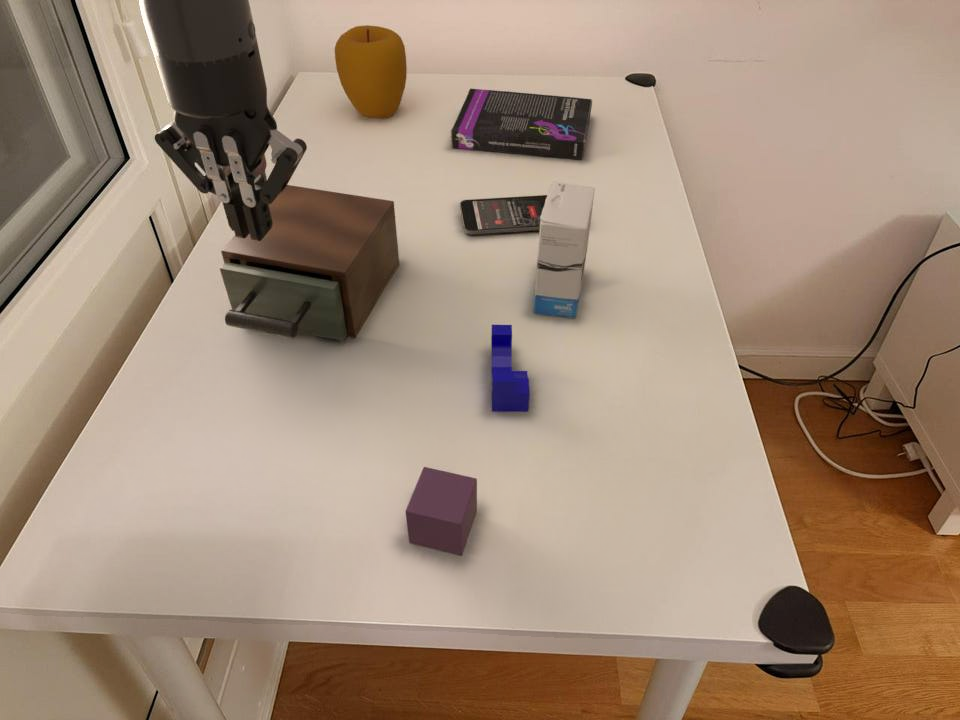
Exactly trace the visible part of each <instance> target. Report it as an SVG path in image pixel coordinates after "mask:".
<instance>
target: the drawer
mask: <svg viewBox="0 0 960 720" xmlns="http://www.w3.org/2000/svg"><path fill="white" fill-rule="evenodd" d="M240 264H241V265H240ZM240 264H234V263H228V262H225V263H224V262H223V264H222V265H221V266H220V268H219V270H220V274H221V279H222V280H223V284H224V288H225V291H226V294H227V297H228V301H229V304H230V307H231V309H229V310H228V311H227V312H226V313H225V317H224V322H225V324H226V326H228V327H232V328H238V329H243V330H249V331H253V332H258V333H263V334H267V335H273V336H279V337H283V338H288V339H295V338H296V336H297V335H298V333H301V334H304V335H305V334H306V335H310V336H315V337H321V338H326V339H332V340H336V341H341V342H344V340H345V338H346V337H347V336H346V335H347V330H346V324H345V322H346V316H345V310H344V303H343V297H342V291H341V285H340V279H339V277H333V276H328V275H322V274H316V273H311V272H305V271H300V270H294V269H288V268H283V267H277V266H271V265H266V264H260V263H254V262H249V261H243V260H240Z"/></svg>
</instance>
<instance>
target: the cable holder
mask: <svg viewBox="0 0 960 720" xmlns="http://www.w3.org/2000/svg"><path fill="white" fill-rule="evenodd" d="M490 334H491V339H490V381H491V382H490V385H491V386H490V387H491V388H490V390H491V391H490V392H491V394H490V395H491V412H509V413H510V412H512V413H513V412H514V413H515V412H517V413H518V412H521V413H522V412H525V413H527V412H528V413H529V409H530V408H529V407H530V395H531V394H530V378H529V373H528V370H513V325H512V324H491V333H490Z"/></svg>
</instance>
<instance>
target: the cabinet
mask: <svg viewBox="0 0 960 720" xmlns="http://www.w3.org/2000/svg"><path fill="white" fill-rule="evenodd" d="M268 205H269V209H270V214H271V218H272V222H273V224H272V228H271V229H270V230H269V231H268V233H267V234H266V235H265V237H264V238H263V239H262V240H261V241H256V240H252V239H251V237H250V234H249V235H248V236H247V237H246V238H239V237H236V236H235V235H233V237H232V238H231V239H230V240H229V241H228V242H227V243H226V244H225V245H224V246H223V248H222V249H221V250H220V252H221V253H220V254H221V256H222V260H223V264H224V263H225V262H228V263H234V264H240V260H243V261H249V262H254V263H260V264H266V265H271V266H277V267H283V268H288V269H294V270H300V271H305V272H311V273H316V274H322V275H328V276H333V277H339V279H340V285H341V291H342V297H343V303H344V310H345V316H346V322H345V324H346V330H347V335H346V336H345V337H350V338H354V339H356V338H357V336H358V335H359V333H360V332H361V329H362V328H363V326H364V324H366V322H367V319H368V318H369V316H370V314H371V313H372V311H373V309H374V308H375V306H376V304H377V303H378V301H379V299H381V296H382V294H383V293H384V291H385V289H386V287H388V284H389V283H390V281H391V280H392V277H394V274H395V273H396V271H397V270H398V268H399V266H400V255H399V254H400V253H399V243H398V233H397V232H398V231H397V221H396V211H395V201H394V200H388V199H384V198H383V199H382V198H375V197H371V196H370V197H369V196H363V195H356V194H350V193H343V192H338V191H337V192H336V191H331V190H323V189H318V188H310V187H303V186H298V185H297V186H296V185H290V184H287V186H286V188H285V189H284V190H283V191H282V192H281V193H280V194H279V195H278V196H277V197H276V199H275V200H274V201H273V202H272V203H271V204H268ZM240 265H241V264H240Z"/></svg>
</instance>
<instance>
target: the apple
mask: <svg viewBox="0 0 960 720" xmlns="http://www.w3.org/2000/svg"><path fill="white" fill-rule="evenodd" d="M406 53H407V52H406V48H405V44H404V42H403V39H402V37H401V36H400V35H399V34H398V33H397V32H395V31H394V30H392V29H390V28H386V27H384V26H383V27H382V26H378V25H357V26H354V27H352V28H349V29H348V30H347V31H346V32H344V33H342V34H341V35H340V36H339V37H338V39H337V41H336V42H335V46H334V60H335V66H336V67H335V68H336V72H337V75H338V78H339V81H340V85H341V87H342V89H343V91H344V93H345V95H346V97H347V98H348V100H349V101H350V104H351V105H352V106H353V107H354V109H355V110H356V111H357V112H358V114H360V115H361V116H362V117H365V118H372V119H373V118H375V119H386V118H389V117H393V115H395V114H396V113H397V112H398V110H399V107H400V106H401V103H402V99H403V95H404V92H405V88H406V82H407V72H408V71H407V69H408V68H407V54H406Z"/></svg>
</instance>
